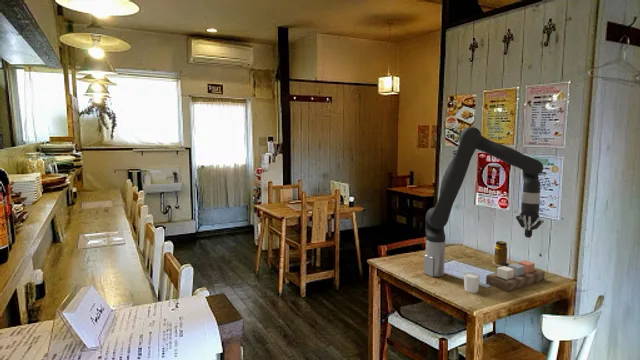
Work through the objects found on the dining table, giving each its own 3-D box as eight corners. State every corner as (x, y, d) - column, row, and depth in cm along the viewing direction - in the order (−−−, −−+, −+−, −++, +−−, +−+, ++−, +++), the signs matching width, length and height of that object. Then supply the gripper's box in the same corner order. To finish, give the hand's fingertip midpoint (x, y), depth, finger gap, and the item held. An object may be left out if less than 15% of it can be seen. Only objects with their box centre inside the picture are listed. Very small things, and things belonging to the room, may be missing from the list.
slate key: (517, 276, 177) (518, 268, 177) (507, 273, 181) (508, 264, 181) (524, 274, 180) (524, 266, 179) (514, 271, 184) (514, 263, 183)
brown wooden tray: (507, 292, 169) (507, 283, 169) (485, 283, 179) (486, 275, 178) (544, 279, 183) (544, 271, 183) (522, 272, 193) (522, 265, 192)
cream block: (506, 279, 173) (507, 271, 173) (496, 276, 178) (497, 267, 177) (513, 277, 176) (514, 269, 175) (503, 274, 180) (504, 266, 180)
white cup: (460, 287, 175) (461, 272, 174) (474, 286, 175) (475, 272, 175) (467, 293, 168) (468, 278, 167) (482, 293, 169) (483, 277, 168)
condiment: (491, 261, 209) (492, 240, 208) (506, 261, 209) (507, 240, 208) (497, 266, 202) (498, 244, 201) (513, 266, 202) (514, 244, 201)
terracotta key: (527, 273, 181) (528, 265, 181) (518, 269, 185) (518, 262, 185) (534, 271, 184) (534, 263, 183) (524, 268, 188) (524, 260, 187)
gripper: (512, 200, 184) (510, 235, 186) (539, 204, 173) (537, 241, 175) (522, 198, 188) (519, 233, 190) (549, 203, 176) (546, 239, 178)
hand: (528, 237), depth 182 cm, fingers closed
